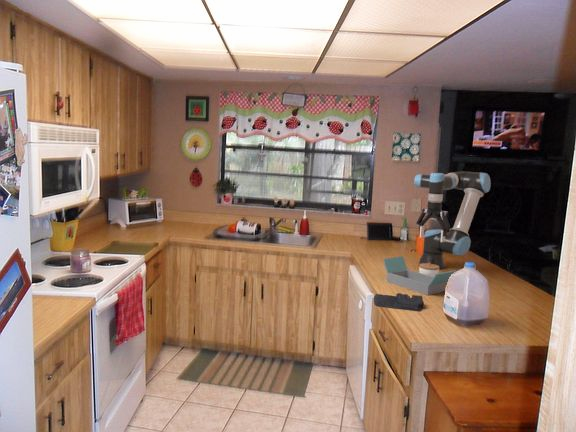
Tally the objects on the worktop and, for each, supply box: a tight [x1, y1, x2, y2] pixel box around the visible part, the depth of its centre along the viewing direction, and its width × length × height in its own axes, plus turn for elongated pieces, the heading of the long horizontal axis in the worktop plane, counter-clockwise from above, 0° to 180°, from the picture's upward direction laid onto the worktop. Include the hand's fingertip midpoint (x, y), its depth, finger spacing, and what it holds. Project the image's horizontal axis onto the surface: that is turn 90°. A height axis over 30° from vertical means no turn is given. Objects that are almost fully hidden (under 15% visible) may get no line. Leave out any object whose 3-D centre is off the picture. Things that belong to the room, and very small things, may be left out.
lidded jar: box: [418, 263, 440, 277], centre depth 258 cm, size 11×11×9 cm
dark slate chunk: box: [373, 292, 425, 312], centre depth 212 cm, size 15×22×5 cm
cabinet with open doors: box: [382, 255, 457, 296], centre depth 242 cm, size 34×16×12 cm, turn 37°
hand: (431, 239), depth 258 cm, fingers open, 13 cm apart
